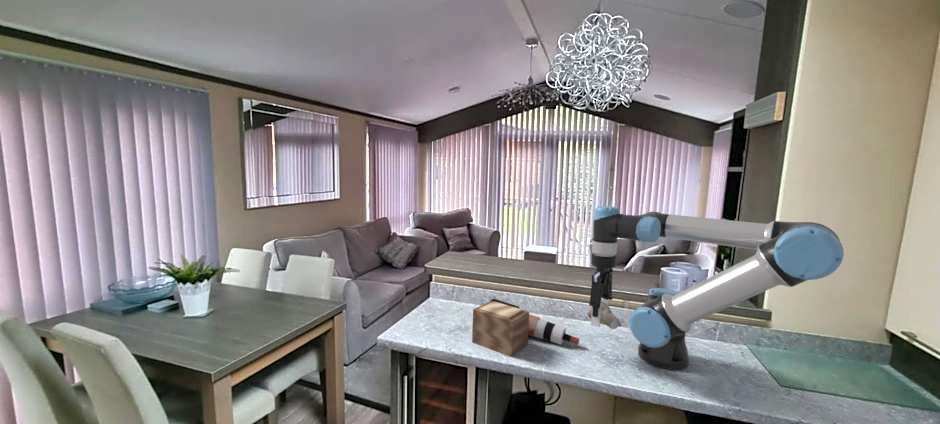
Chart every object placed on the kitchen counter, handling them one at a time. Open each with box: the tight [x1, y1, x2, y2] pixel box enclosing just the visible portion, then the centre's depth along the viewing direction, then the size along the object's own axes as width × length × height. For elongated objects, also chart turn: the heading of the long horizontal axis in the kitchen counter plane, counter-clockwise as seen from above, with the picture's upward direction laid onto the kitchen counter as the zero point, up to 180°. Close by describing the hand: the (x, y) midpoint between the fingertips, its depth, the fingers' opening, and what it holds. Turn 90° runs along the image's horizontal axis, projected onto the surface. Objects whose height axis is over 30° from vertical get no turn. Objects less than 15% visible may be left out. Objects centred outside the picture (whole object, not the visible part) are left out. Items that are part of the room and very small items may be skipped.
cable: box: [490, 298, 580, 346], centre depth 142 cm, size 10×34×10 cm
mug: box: [587, 302, 622, 330], centre depth 127 cm, size 8×10×10 cm
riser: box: [471, 300, 530, 358], centre depth 135 cm, size 16×11×13 cm
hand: (599, 321), depth 128 cm, fingers closed on mug, 7 cm apart
